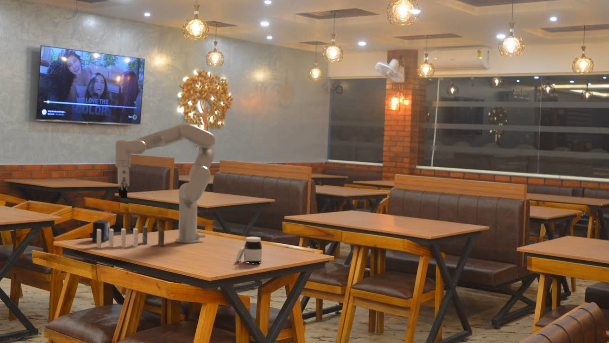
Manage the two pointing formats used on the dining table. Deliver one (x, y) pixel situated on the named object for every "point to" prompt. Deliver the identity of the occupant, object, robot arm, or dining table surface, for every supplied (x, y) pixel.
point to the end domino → (144, 235)
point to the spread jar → (251, 250)
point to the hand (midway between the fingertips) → (122, 196)
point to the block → (161, 237)
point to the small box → (104, 228)
